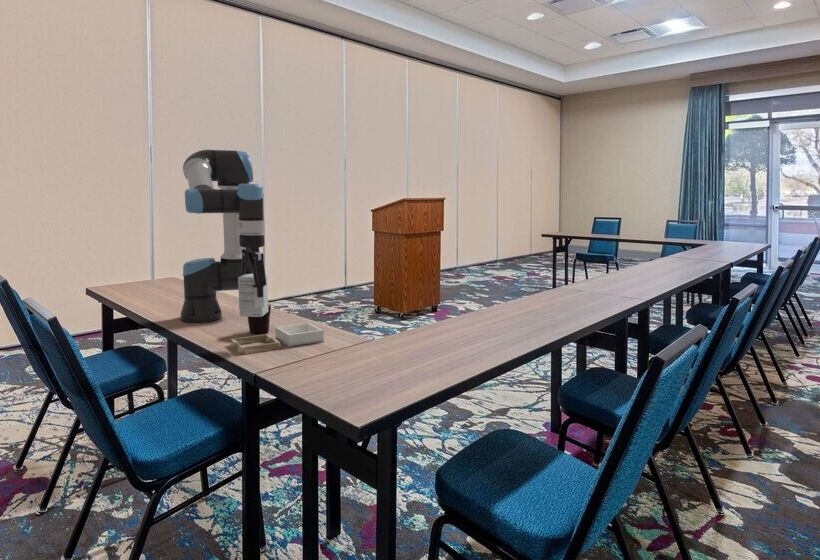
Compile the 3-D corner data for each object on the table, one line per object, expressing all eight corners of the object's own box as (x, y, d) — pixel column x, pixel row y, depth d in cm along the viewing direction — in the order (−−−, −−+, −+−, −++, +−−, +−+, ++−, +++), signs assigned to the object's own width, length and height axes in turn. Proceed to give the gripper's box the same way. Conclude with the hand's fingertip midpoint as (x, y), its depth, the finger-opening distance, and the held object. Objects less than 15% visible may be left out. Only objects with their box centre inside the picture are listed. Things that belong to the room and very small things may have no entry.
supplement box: (246, 311, 175) (245, 273, 173) (269, 311, 175) (267, 273, 173) (238, 316, 168) (237, 276, 166) (262, 317, 168) (260, 277, 166)
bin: (275, 338, 183) (275, 327, 182) (309, 333, 189) (308, 322, 189) (289, 347, 173) (288, 335, 172) (323, 341, 179) (323, 330, 179)
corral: (230, 345, 174) (230, 339, 174) (267, 339, 181) (267, 334, 181) (242, 354, 164) (242, 348, 164) (280, 348, 171) (280, 342, 171)
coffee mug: (265, 336, 185) (264, 308, 184) (242, 334, 187) (241, 306, 185) (279, 328, 197) (278, 301, 195) (257, 327, 198) (257, 300, 197)
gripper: (229, 231, 174) (231, 298, 178) (251, 237, 156) (253, 312, 160) (252, 230, 178) (254, 296, 182) (276, 236, 160) (278, 309, 164)
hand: (253, 304), depth 171 cm, fingers closed on supplement box, 10 cm apart
